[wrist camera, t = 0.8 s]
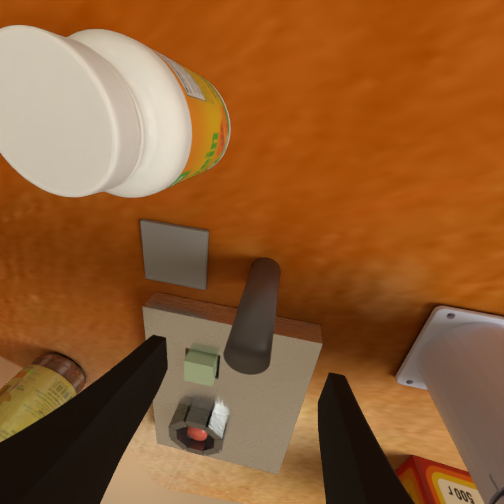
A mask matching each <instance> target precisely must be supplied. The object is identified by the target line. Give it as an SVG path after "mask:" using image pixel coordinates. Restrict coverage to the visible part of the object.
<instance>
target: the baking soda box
mask: <svg viewBox="0 0 504 504" xmlns="http://www.w3.org/2000/svg"><path fill="white" fill-rule="evenodd" d="M395 473H396V474H397V476H398V478H399V479H400V481H401V483H402V484H403V486H404V488H405V489H406V491H407V492H408V494H409V495H410V497H411V498H412V500H413V502H414V503H415V504H484V502H483V500H482V498H481V496H480V494H479V492H478V490H477V488H476V486H475V484H474V482H473V480H472V478H471V476H470V474H469V472H466V471H463V470H460V469H457V468H453V467H450V466H447V465H444V464H440V463H437V462H434V461H431V460H427V459H424V458H421V457H418V456H415V455H412V456H411V457H410V458H409V459H407V460H406V461H405V462H404V463H403V464H402V465H401V466H400V467H399V468H398V469H397V470H395Z"/></svg>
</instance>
